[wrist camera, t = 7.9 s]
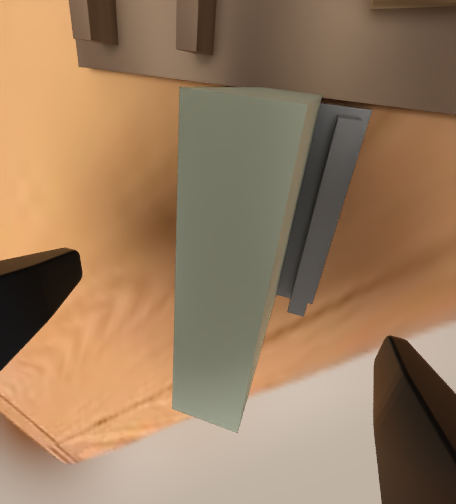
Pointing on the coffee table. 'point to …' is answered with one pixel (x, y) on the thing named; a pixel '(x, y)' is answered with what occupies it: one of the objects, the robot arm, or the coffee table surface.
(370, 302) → the coffee table surface
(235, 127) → the panel
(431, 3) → the offcut
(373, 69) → the rack
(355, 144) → the stand
